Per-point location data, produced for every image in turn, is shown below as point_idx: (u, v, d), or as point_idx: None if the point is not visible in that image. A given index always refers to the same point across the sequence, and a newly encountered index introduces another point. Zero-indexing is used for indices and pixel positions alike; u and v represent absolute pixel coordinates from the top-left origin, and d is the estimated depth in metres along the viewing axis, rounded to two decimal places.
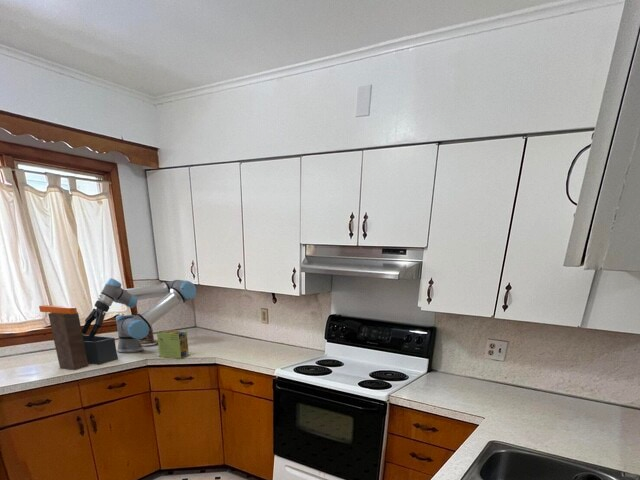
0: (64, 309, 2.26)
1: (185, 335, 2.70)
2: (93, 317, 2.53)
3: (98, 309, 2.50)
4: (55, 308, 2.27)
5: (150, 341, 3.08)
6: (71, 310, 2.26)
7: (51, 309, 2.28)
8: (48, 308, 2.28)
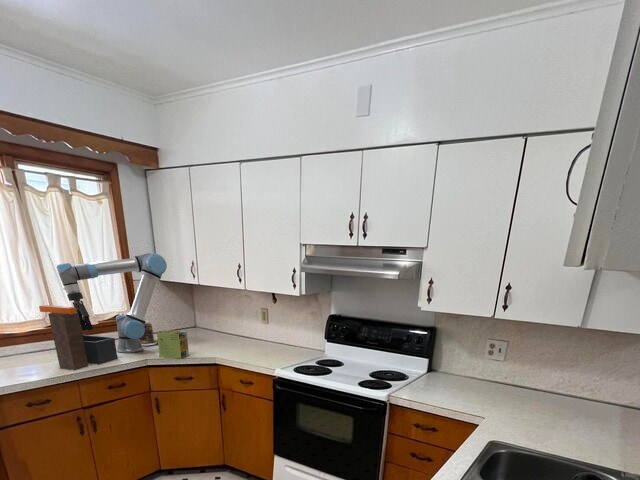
0: (64, 309, 2.26)
1: (185, 335, 2.70)
2: (79, 310, 2.48)
3: (75, 301, 2.43)
4: (55, 308, 2.27)
5: (150, 341, 3.08)
6: (71, 310, 2.26)
7: (51, 309, 2.28)
8: (48, 308, 2.28)
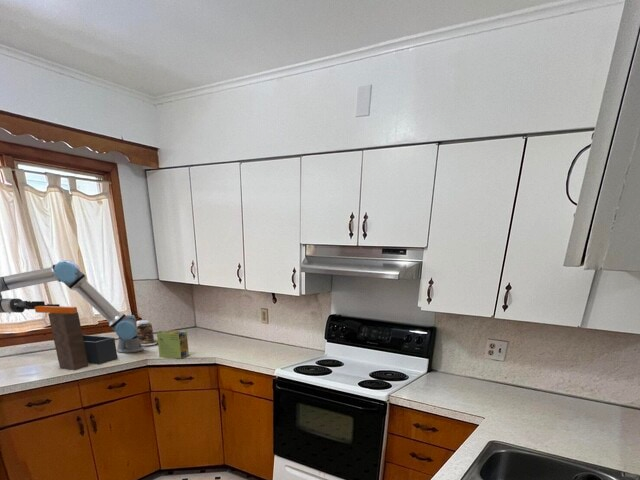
0: (65, 309, 2.27)
1: (185, 335, 2.70)
2: None
3: (22, 307, 2.37)
4: (54, 308, 2.27)
5: (150, 341, 3.08)
6: (73, 309, 2.28)
7: (49, 309, 2.27)
8: (46, 308, 2.27)
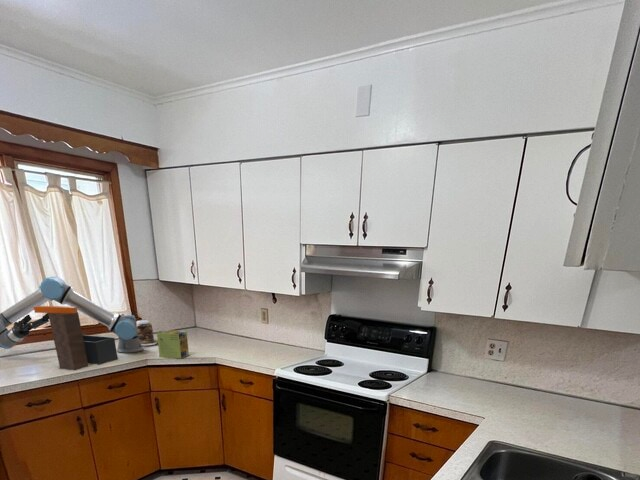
0: (66, 309, 2.28)
1: (185, 335, 2.70)
2: (34, 323, 2.42)
3: (24, 330, 2.40)
4: (54, 308, 2.27)
5: (150, 341, 3.08)
6: (74, 309, 2.29)
7: (49, 309, 2.27)
8: (45, 308, 2.27)
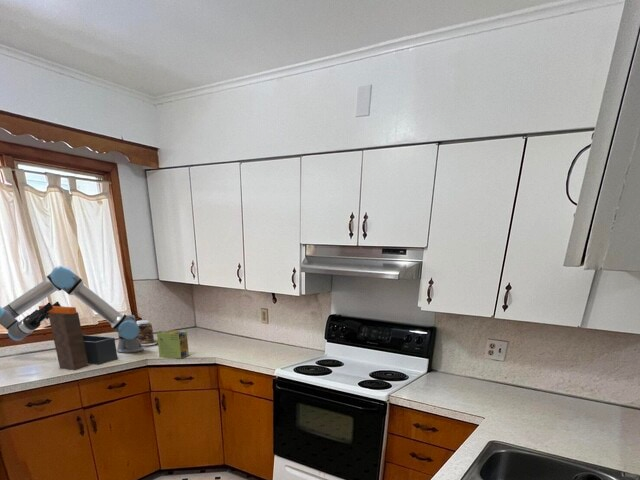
0: (63, 309, 2.26)
1: (185, 335, 2.70)
2: (43, 314, 2.35)
3: (35, 321, 2.36)
4: (54, 308, 2.27)
5: (150, 341, 3.08)
6: (70, 310, 2.26)
7: (50, 309, 2.28)
8: None
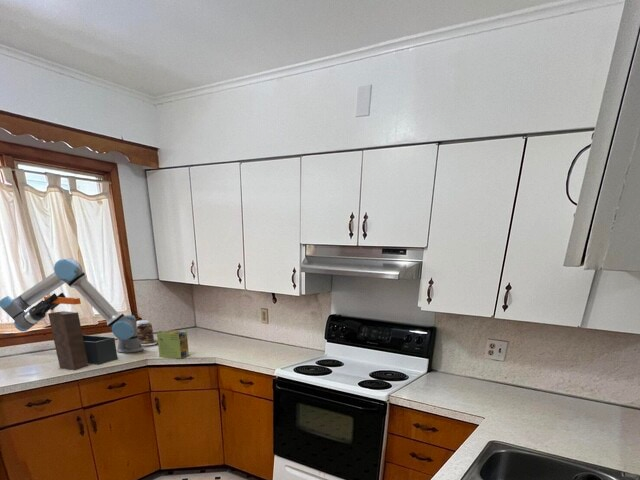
0: (68, 300, 2.34)
1: (185, 335, 2.70)
2: (48, 305, 2.43)
3: (40, 312, 2.44)
4: (59, 299, 2.35)
5: (150, 341, 3.08)
6: (75, 301, 2.34)
7: (56, 300, 2.36)
8: None
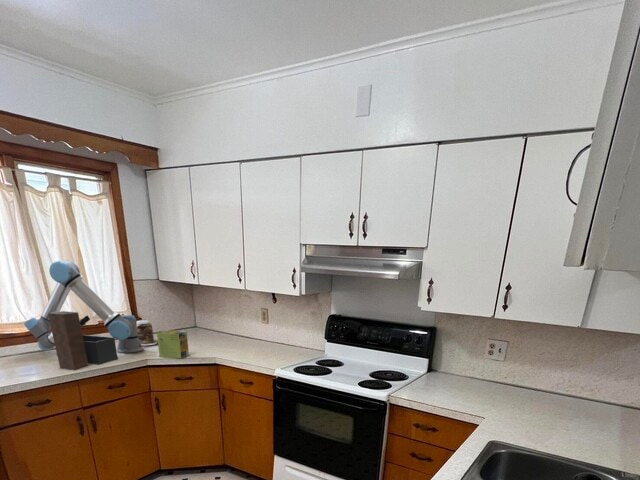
0: None
1: (185, 335, 2.70)
2: None
3: None
4: None
5: (150, 341, 3.08)
6: None
7: None
8: None
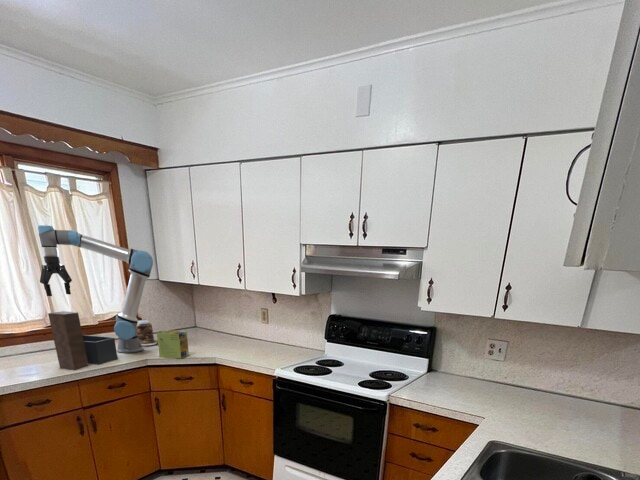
0: None
1: (185, 335, 2.70)
2: (60, 274, 2.47)
3: None
4: None
5: (150, 341, 3.08)
6: None
7: None
8: None
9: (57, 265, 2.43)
